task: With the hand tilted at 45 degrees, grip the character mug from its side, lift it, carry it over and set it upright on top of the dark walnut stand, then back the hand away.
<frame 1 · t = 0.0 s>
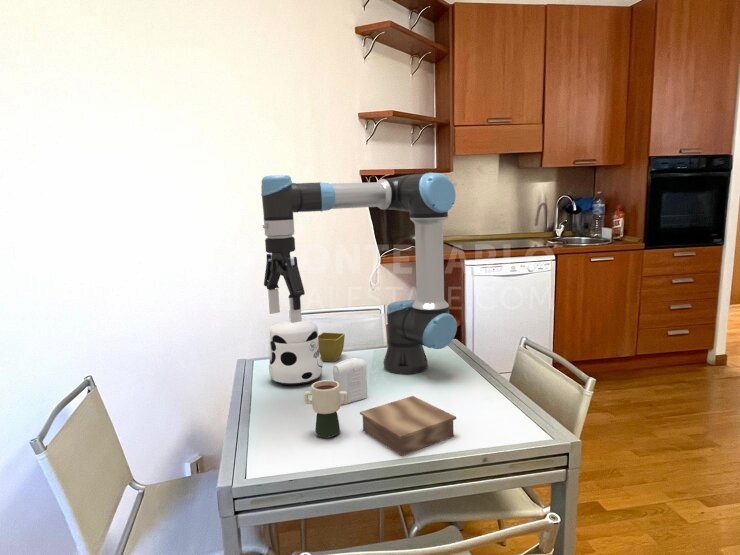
hand: (285, 317, 137), 28 cm above the table, tool pointing down, fingers open, 13 cm apart
character mug: (328, 434, 131), on the table
milk container: (296, 380, 171), on the table
flower pot: (331, 360, 190), on the table
photo printer: (351, 400, 152), on the table
walnut stand: (407, 433, 130), on the table
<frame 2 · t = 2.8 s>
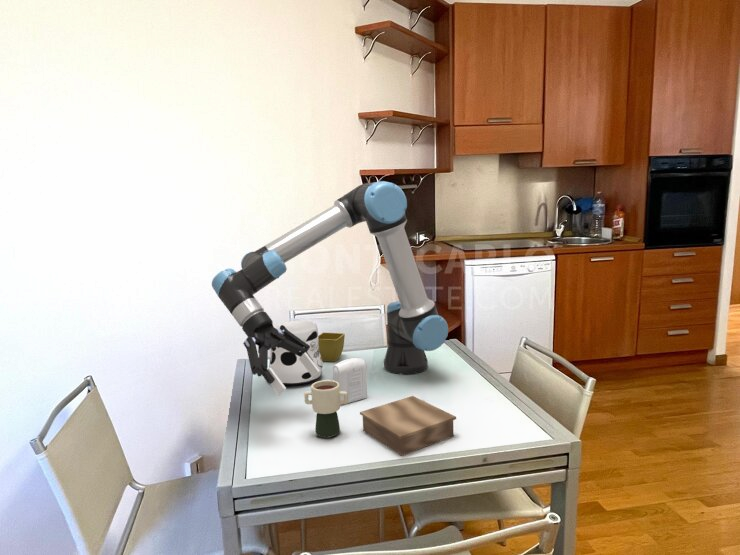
hand: (300, 383, 132), 12 cm above the table, tool tilted 45°, fingers open, 13 cm apart
nothing on the table moved.
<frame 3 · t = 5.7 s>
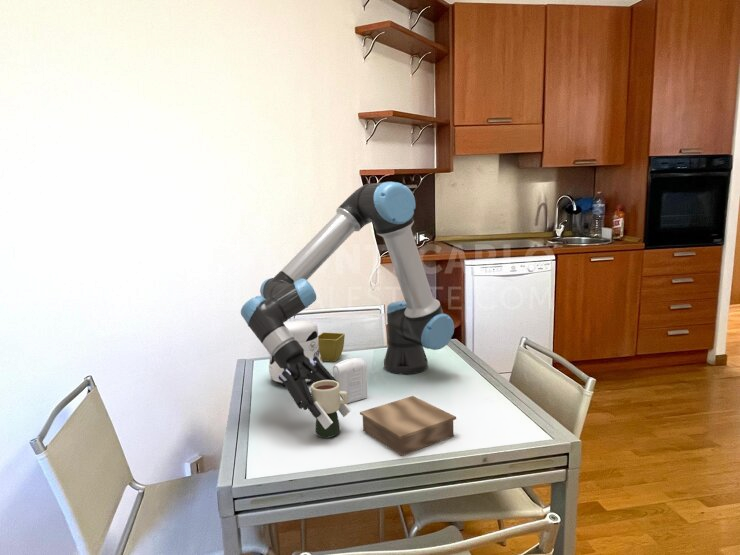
hand: (338, 419, 128), 5 cm above the table, tool tilted 45°, fingers closed on character mug, 7 cm apart
character mug: (328, 434, 131), on the table, touching gripper
everything else where it was.
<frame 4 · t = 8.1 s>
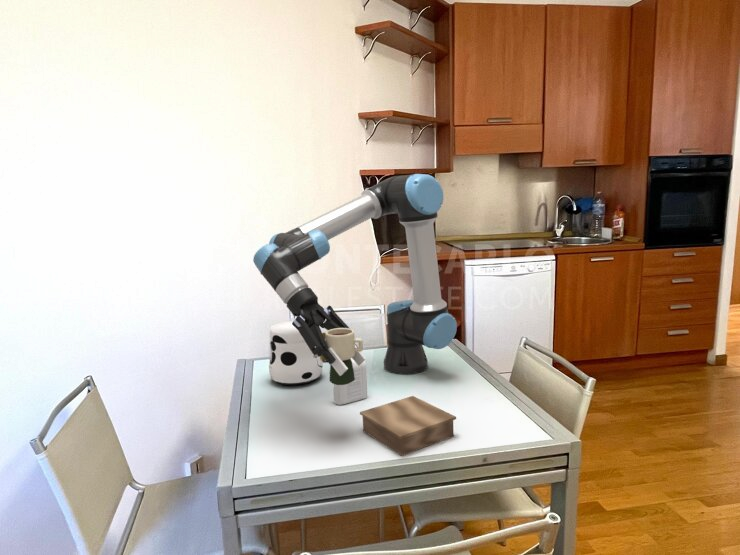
hand: (353, 367, 125), 18 cm above the table, tool tilted 45°, fingers closed on character mug, 7 cm apart
character mug: (342, 383, 128), point 13 cm above the table, touching gripper
everything else where it was.
when the fingers open (11 cm above the table, at t = 10.8 s): character mug drops 1 cm, resting on walnut stand.
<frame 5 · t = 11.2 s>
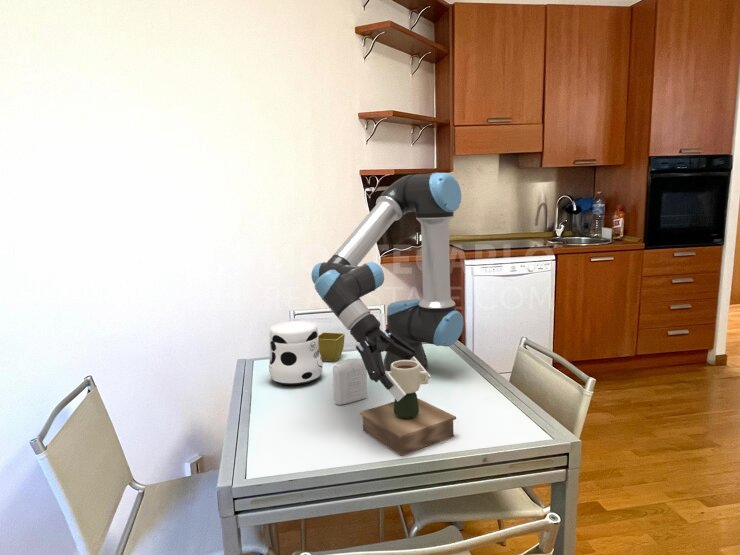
hand: (415, 388, 126), 12 cm above the table, tool tilted 45°, fingers open, 13 cm apart
character mug: (406, 415, 129), point 5 cm above the table, touching walnut stand
everything else where it was.
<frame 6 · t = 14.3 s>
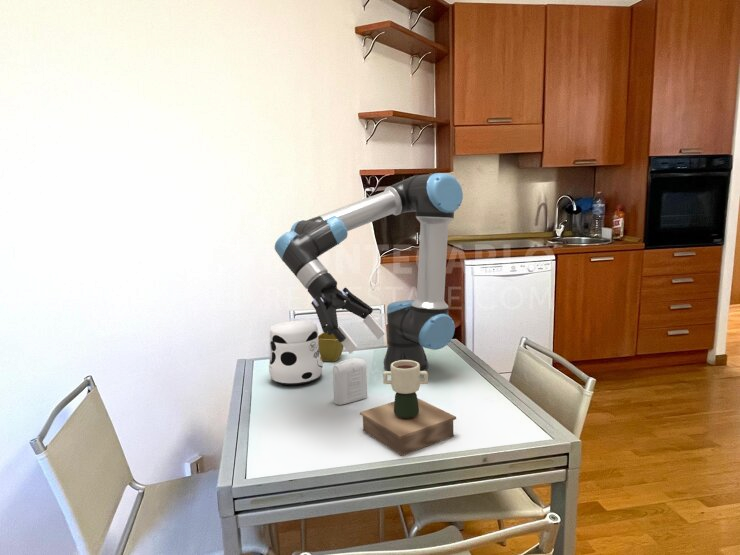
hand: (368, 342, 132), 22 cm above the table, tool tilted 45°, fingers open, 13 cm apart
nothing on the table moved.
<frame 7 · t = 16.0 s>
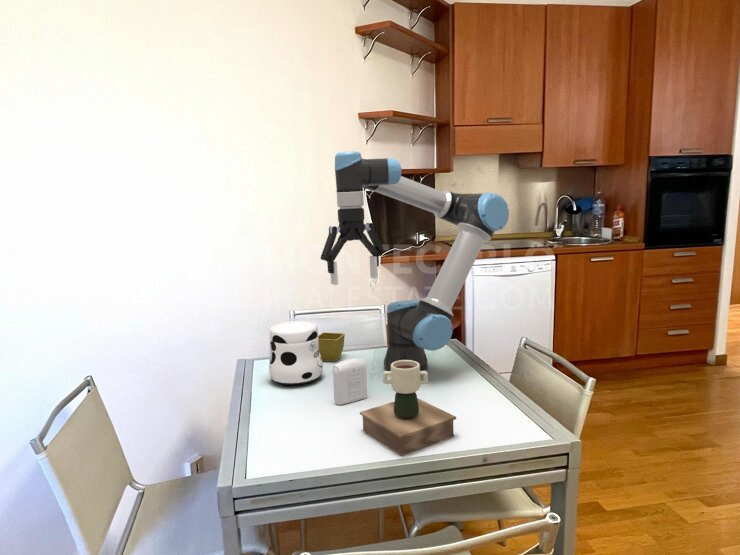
hand: (354, 281, 151), 34 cm above the table, tool pointing down, fingers open, 13 cm apart
nothing on the table moved.
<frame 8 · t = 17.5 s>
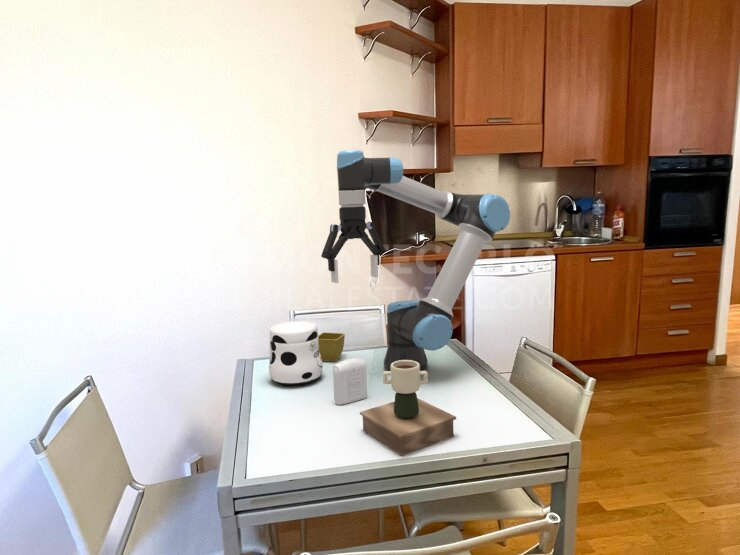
hand: (355, 279, 152), 35 cm above the table, tool pointing down, fingers open, 13 cm apart
nothing on the table moved.
at the end: character mug inside the target area on the walnut stand (0.2 cm from its centre), point 4.8 cm above the walnut stand's base; character mug tilted 0°; the gripper is holding nothing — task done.
